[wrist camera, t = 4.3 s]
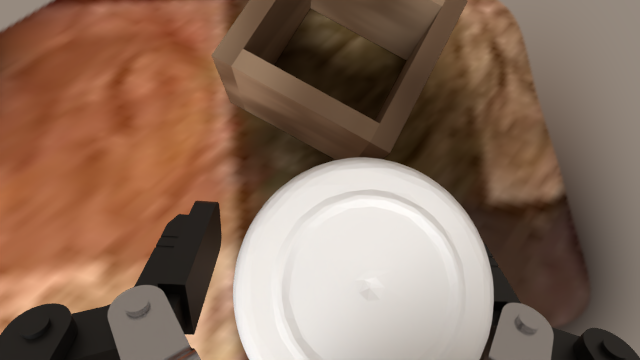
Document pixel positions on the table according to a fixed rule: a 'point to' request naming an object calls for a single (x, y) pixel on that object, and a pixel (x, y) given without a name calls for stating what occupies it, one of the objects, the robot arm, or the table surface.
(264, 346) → the sprinkles bottle
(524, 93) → the table surface
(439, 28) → the open square sleeve
